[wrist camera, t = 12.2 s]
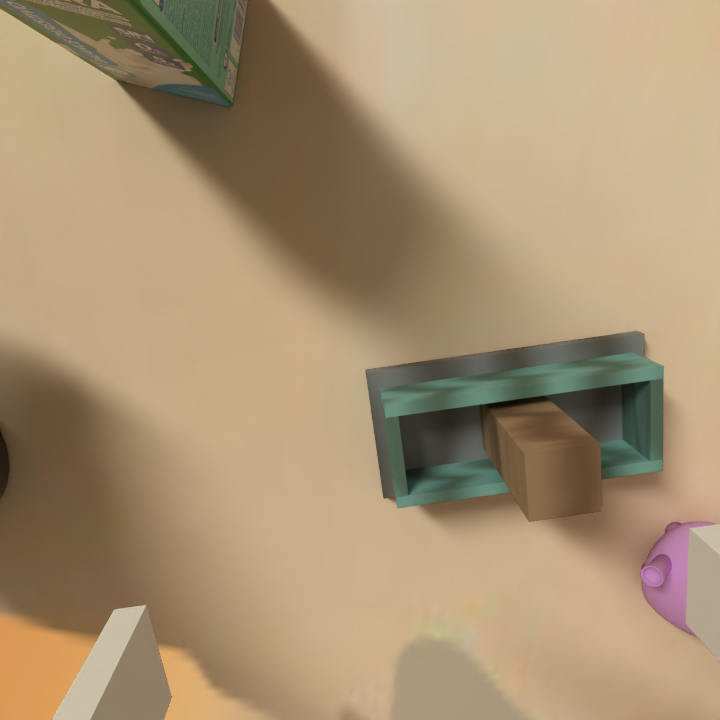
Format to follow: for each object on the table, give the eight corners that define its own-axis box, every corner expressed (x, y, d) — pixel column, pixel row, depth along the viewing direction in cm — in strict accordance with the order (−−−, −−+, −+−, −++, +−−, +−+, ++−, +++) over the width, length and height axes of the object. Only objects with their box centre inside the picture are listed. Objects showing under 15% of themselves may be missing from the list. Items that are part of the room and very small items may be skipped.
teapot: (709, 618, 55) (781, 697, 46) (582, 571, 53) (632, 644, 44) (765, 535, 52) (853, 600, 43) (635, 483, 51) (699, 540, 42)
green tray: (382, 492, 50) (387, 525, 44) (365, 369, 47) (368, 389, 41) (637, 455, 50) (674, 485, 44) (636, 331, 47) (676, 345, 41)
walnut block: (483, 448, 48) (529, 521, 36) (478, 395, 46) (524, 454, 35) (538, 440, 48) (602, 511, 36) (535, 387, 46) (600, 443, 35)
